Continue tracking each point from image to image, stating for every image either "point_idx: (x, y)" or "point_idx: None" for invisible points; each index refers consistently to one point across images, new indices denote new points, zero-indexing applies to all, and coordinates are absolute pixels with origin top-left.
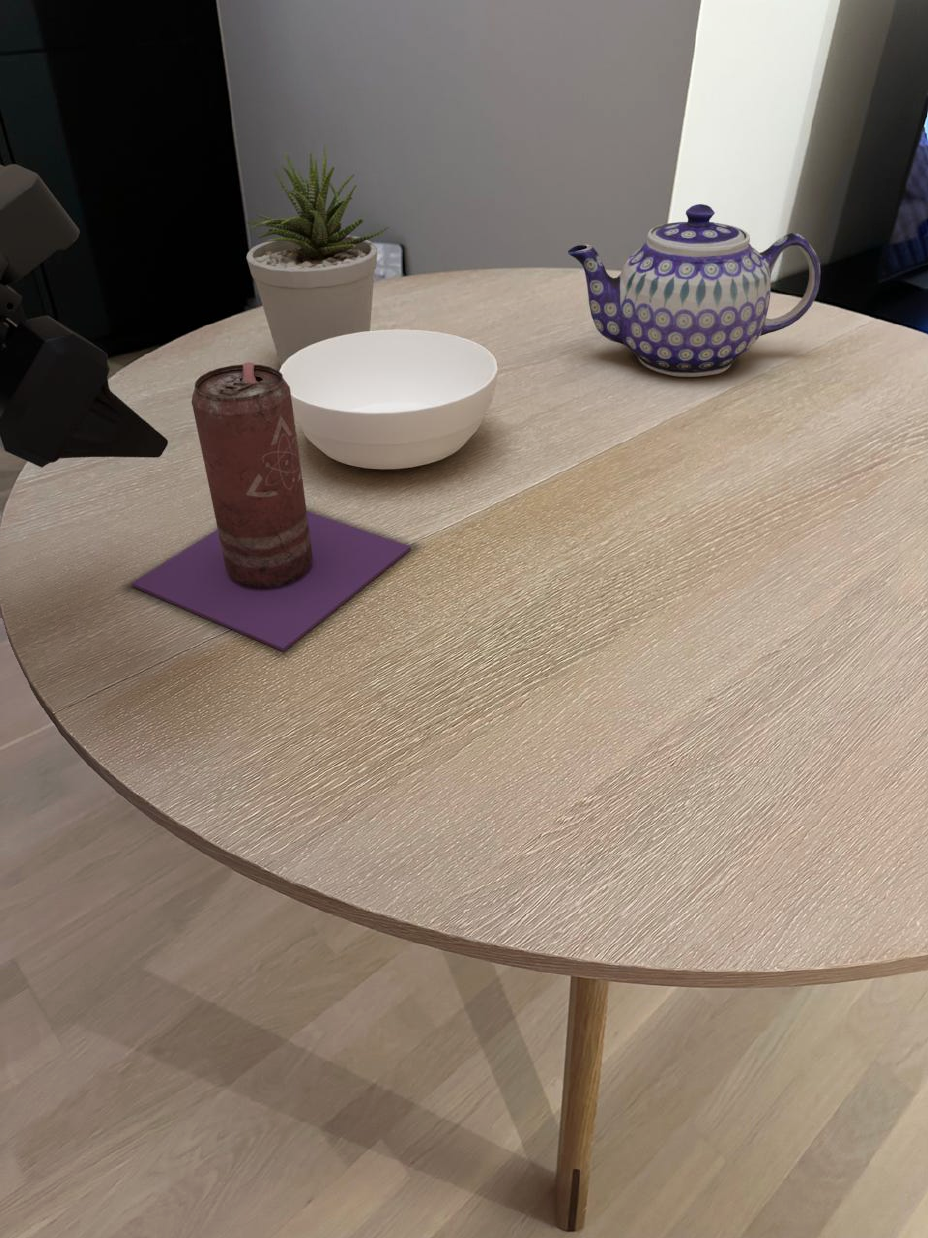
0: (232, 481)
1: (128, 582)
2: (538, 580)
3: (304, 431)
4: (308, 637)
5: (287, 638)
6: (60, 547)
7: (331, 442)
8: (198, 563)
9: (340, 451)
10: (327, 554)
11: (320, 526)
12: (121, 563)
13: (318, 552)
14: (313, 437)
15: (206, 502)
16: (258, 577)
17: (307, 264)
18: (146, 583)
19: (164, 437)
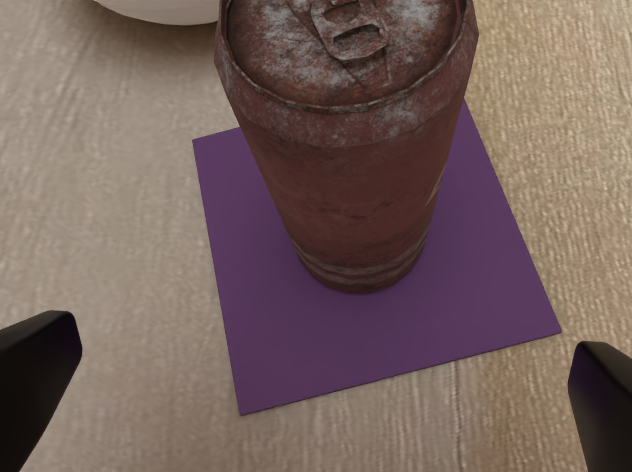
0: (409, 209)
1: (225, 413)
2: (623, 5)
3: (139, 13)
4: (548, 286)
5: (544, 313)
6: (45, 447)
7: (212, 3)
8: (271, 306)
9: None
10: None
11: None
12: (168, 394)
13: None
14: (169, 13)
15: (122, 207)
16: (408, 269)
17: None
18: (259, 397)
19: (619, 351)
